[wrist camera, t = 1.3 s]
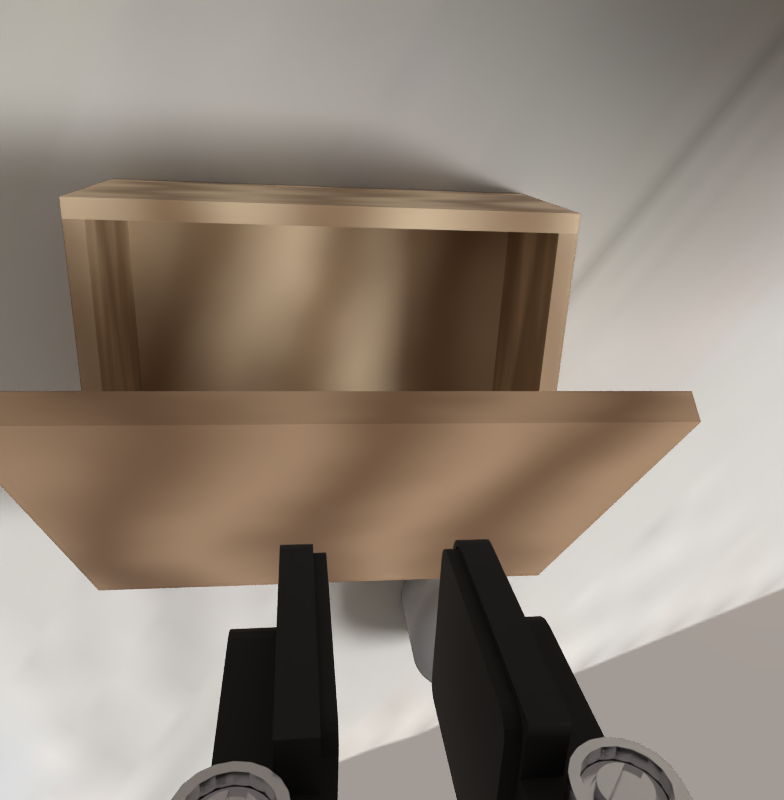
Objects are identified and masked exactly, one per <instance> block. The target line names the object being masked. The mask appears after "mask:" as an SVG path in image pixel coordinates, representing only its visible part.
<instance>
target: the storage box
mask: <svg viewBox="0 0 784 800" xmlns="http://www.w3.org/2000/svg"><path fill="white" fill-rule="evenodd" d="M59 199H60V208H61V217H62V225H63V234H64V243H65V251H66V260H67V269H68V277H69V286H70V295H71V303H72V312H73V321H74V329H75V338H76V347H77V355H78V364H79V373H80V381H81V390H82V391H557V385H558V377H559V370H560V363H561V355H562V348H563V340H564V333H565V326H566V318H567V311H568V304H569V296H570V289H571V281H572V274H573V267H574V259H575V252H576V245H577V237H578V230H579V222H580V215H581V214H580V213H577V212H574V211H571V210H568V209H565V208H562V207H560V206H557V205H554V204H551V203H548V202H545V201H542V200H539V199H536V198H533V197H530V196H527V195H525V194H508V193H481V192H453V191H426V190H399V189H371V188H344V187H316V186H289V185H261V184H234V183H206V182H179V181H152V180H124V179H109V180H106V181H103V182H100V183H97V184H94V185H92V186H89V187H86V188H83V189H80V190H77V191H74V192H71V193H68V194H65V195H62V196H59Z"/></svg>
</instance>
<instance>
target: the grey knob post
mask: <svg viewBox="0 0 784 800" xmlns="http://www.w3.org/2000/svg"><path fill="white" fill-rule="evenodd" d="M439 584H440V579H412V580H405V582H404V584H403V587H402V593H401V600H402V606H403V610H404V615H405V620H406V624H407V629H408V633H409V638H410V643H411V647H412V652H413V656H414V661H415V664H416V666H417V668H418V670H419V671H420V673H421V674H422V675H423V676H424V677H425V678H426V679H427V680H429V681H430V682H431V683H432V670H433V657H434V645H435V633H436V621H437V609H438V597H439Z"/></svg>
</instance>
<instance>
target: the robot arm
mask: <svg viewBox="0 0 784 800" xmlns="http://www.w3.org/2000/svg"><path fill="white" fill-rule="evenodd" d="M432 692H433V699H434V704H435V708H436V712H437V717H438V721H439V725H440V729H441V733H442V738H443V742H444V746H445V751H446V755H447V759H448V763H449V767H450V772H451V776H452V780H453V784H454V789H455V793H456V797H457V800H693V798H692V797H691V795H690V793H689V791H688V790H687V788H686V786H685V785H684V783H683V781H682V779H681V778H680V777H679V775H678V774H677V773H676V771H675V770H674V769H673V767H672V766H671V765H670V764H669V763H668V762H667V761H666V760H664V759H663V758H662V757H661V756H660V755H658V754H657V753H656V752H654V751H652V750H651V749H649V748H647V747H645V746H643V745H641V744H639V743H636V742H633V741H630V740H626V739H623V738H613V737H604V735H603V733H602V731H601V729H600V727H599V725H598V723H597V721H596V719H595V717H594V715H593V713H592V711H591V709H590V707H589V705H588V703H587V701H586V699H585V697H584V695H583V693H582V691H581V689H580V687H579V685H578V683H577V681H576V679H575V677H574V675H573V673H572V671H571V669H570V667H569V665H568V663H567V661H566V659H565V657H564V655H563V653H562V651H561V649H560V646H559V644H558V642H557V640H556V638H555V636H554V634H553V632H552V630H551V628H550V626H549V625H548V623H547V621H546V620H545V619H544V618H543V617H541V616H536V617H525V616H524V614H523V612H522V610H521V607H520V605H519V603H518V601H517V599H516V596H515V594H514V592H513V590H512V588H511V585H510V583H509V581H508V579H507V577H506V575H505V572H504V570H503V568H502V566H501V564H500V561H499V559H498V557H497V555H496V553H495V550H494V548H493V546H492V544H491V542H490V541H489V540H488V539H473V540H456V541H455V542H454V545H453V549H444V550H443V553H442V560H441V572H440V584H439V597H438V609H437V621H436V633H435V645H434V657H433V670H432ZM338 757H339V739H338V714H337V699H336V685H335V670H334V656H333V641H332V627H331V613H330V598H329V584H328V569H327V555H326V552H324V553H313V544H291V545H280V553H279V580H278V606H277V627H274V628H250V629H230V631H229V636H228V643H227V651H226V658H225V666H224V674H223V681H222V689H221V697H220V704H219V712H218V720H217V727H216V735H215V743H214V751H213V758H212V766H211V767H209V768H207V769H205V770H203V771H200V772H198V773H197V774H195V775H194V776H193V777H192V778H190V779H189V780H188V781H187V782H185V783H184V784H183V785H182V786H181V787H180V789H179V790H178V791H177V793H176V794H175V795H174V797H173V798H172V799H171V800H337V797H338Z"/></svg>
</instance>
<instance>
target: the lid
mask: <svg viewBox="0 0 784 800" xmlns="http://www.w3.org/2000/svg"><path fill="white" fill-rule="evenodd" d="M700 422H701V421H700V418H699V414H698V411H697V408H696V404H695V401H694V398H693V394H692V391H0V485H1V486H2V487H3V489H4V490H5V491H6V492H7V493H8V494H9V495H10V496H11V497H12V498H13V499H14V500H15V501H16V502H17V503H18V505H19V506H20V507H21V508H22V509H23V510H24V511H25V512H26V513H27V514H28V515H29V516H30V517H31V518H32V519H33V521H34V522H35V523H36V524H37V525H38V526H39V527H40V528H41V529H42V530H43V531H44V532H45V533H46V534H47V536H48V537H49V538H50V539H51V540H52V541H53V542H54V543H55V544H56V545H57V546H58V547H59V548H60V549H61V550H62V552H63V553H64V554H65V555H66V556H67V557H68V558H69V559H70V560H71V561H72V562H73V563H74V564H75V565H76V566H77V568H78V569H79V570H80V571H81V572H82V573H83V574H84V575H85V576H86V577H87V578H88V579H89V580H90V581H91V582H92V584H93V585H94V586H95V587H96V588H97V589H98V590H122V589H151V588H180V587H209V586H238V585H267V584H278V580H279V553H280V545H291V544H313V553H324V552H326V555H327V569H328V582H354V581H383V580H412V579H440V572H441V560H442V553H443V550H444V549H453V545H454V542H455V541H456V540H473V539H488V540H489V541H490V542H491V544H492V546H493V548H494V550H495V553H496V555H497V557H498V559H499V561H500V564H501V566H502V568H503V570H504V572H505V575H506V576H528V575H539V574H540V573H541V572H542V571H543V570H544V569H545V568H546V567H547V566H548V565H549V564H550V563H552V562H553V561H554V560H555V559H556V558H557V557H558V556H559V555H560V554H561V553H562V552H563V551H564V550H565V549H566V548H567V547H569V546H570V545H571V544H572V543H573V542H574V541H575V540H576V539H577V538H578V537H579V536H580V535H581V534H582V533H583V532H584V531H585V530H587V529H588V528H589V527H590V526H591V525H592V524H593V523H594V522H595V521H596V520H597V519H598V518H599V517H600V516H601V515H602V514H604V513H605V512H606V511H607V510H608V509H609V508H610V507H611V506H612V505H613V504H614V503H615V502H616V501H617V500H618V499H619V498H621V497H622V496H623V495H624V494H625V493H626V492H627V491H628V490H629V489H630V488H631V487H632V486H633V485H634V484H635V483H636V482H637V481H639V480H640V479H641V478H642V477H643V476H644V475H645V474H646V473H647V472H648V471H649V470H650V469H651V468H652V467H653V466H654V465H656V464H657V463H658V462H659V461H660V460H661V459H662V458H663V457H664V456H665V455H666V454H667V453H668V452H669V451H670V450H671V449H673V448H674V447H675V446H676V445H677V444H678V443H679V442H680V441H681V440H682V439H683V438H684V437H685V436H686V435H687V434H688V433H689V432H691V431H692V430H693V429H694V428H695V427H696V426H697V425H698V424H699V423H700Z"/></svg>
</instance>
